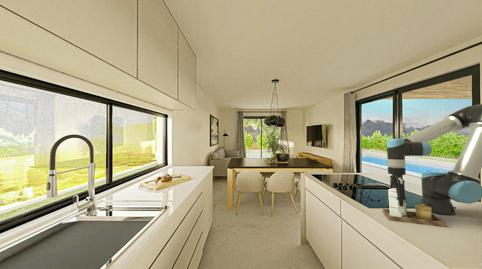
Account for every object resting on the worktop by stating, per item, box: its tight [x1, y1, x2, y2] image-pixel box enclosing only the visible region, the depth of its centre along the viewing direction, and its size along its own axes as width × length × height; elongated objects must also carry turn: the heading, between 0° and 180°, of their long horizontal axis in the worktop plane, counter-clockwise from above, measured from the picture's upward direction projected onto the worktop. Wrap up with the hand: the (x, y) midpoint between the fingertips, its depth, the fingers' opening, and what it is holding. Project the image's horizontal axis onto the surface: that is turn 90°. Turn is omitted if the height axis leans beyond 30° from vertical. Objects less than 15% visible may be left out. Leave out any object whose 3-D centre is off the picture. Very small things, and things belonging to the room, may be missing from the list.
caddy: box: [381, 208, 446, 228], centre depth 102 cm, size 22×12×3 cm, turn 67°
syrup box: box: [387, 188, 408, 217], centre depth 104 cm, size 6×6×14 cm
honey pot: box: [414, 203, 432, 220], centre depth 100 cm, size 6×6×9 cm
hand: (398, 209), depth 104 cm, fingers closed on syrup box, 8 cm apart
